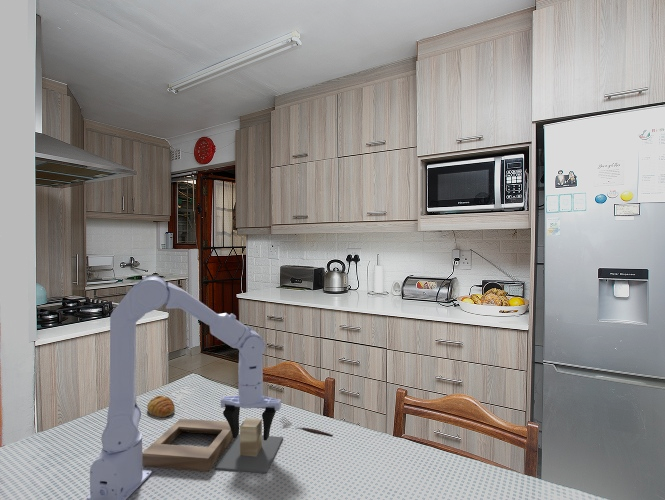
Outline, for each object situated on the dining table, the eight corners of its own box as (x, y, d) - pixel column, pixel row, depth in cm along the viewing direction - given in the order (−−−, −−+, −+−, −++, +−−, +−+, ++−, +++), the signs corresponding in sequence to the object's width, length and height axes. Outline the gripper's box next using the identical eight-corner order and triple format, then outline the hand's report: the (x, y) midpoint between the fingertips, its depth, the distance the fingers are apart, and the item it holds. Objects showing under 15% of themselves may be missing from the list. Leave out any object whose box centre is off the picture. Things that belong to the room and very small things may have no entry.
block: (256, 456, 84) (256, 427, 84) (240, 455, 85) (240, 426, 85) (262, 446, 88) (261, 418, 88) (246, 445, 89) (246, 417, 89)
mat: (266, 473, 79) (266, 471, 79) (214, 469, 80) (214, 467, 80) (282, 438, 93) (282, 437, 93) (238, 435, 94) (238, 434, 94)
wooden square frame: (208, 471, 79) (208, 458, 79) (142, 466, 81) (141, 453, 81) (236, 433, 95) (236, 422, 95) (180, 429, 97) (180, 418, 97)
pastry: (180, 413, 107) (180, 400, 107) (157, 422, 102) (157, 408, 102) (166, 403, 113) (166, 392, 113) (144, 411, 108) (144, 399, 108)
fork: (330, 440, 93) (330, 432, 93) (278, 427, 99) (278, 419, 99) (334, 435, 95) (334, 427, 95) (283, 422, 102) (283, 415, 101)
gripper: (284, 376, 89) (284, 430, 89) (228, 374, 91) (229, 426, 91) (276, 388, 82) (276, 446, 82) (216, 385, 84) (217, 441, 84)
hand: (251, 437), depth 86 cm, fingers open, 7 cm apart
